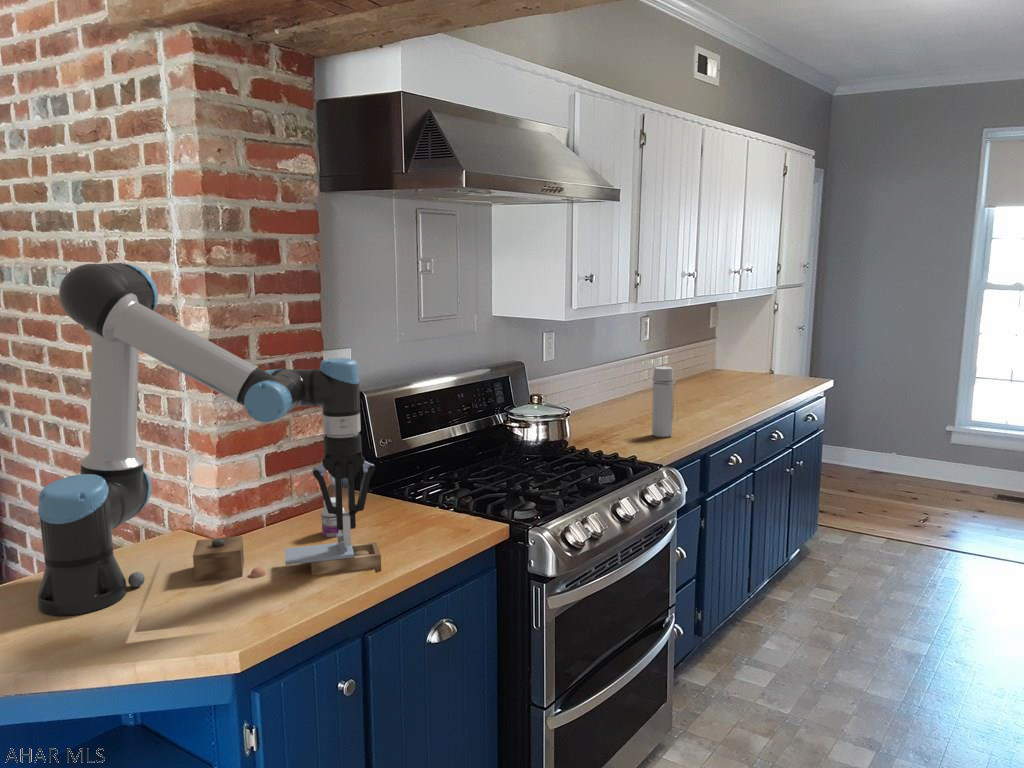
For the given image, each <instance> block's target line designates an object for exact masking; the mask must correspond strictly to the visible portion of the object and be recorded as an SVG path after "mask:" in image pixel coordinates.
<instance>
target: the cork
mask: <svg viewBox="0 0 1024 768" xmlns="http://www.w3.org/2000/svg"><path fill="white" fill-rule="evenodd" d="M361 555H369V552H368V551H358V552H356V553H355V556H361Z"/></svg>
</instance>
